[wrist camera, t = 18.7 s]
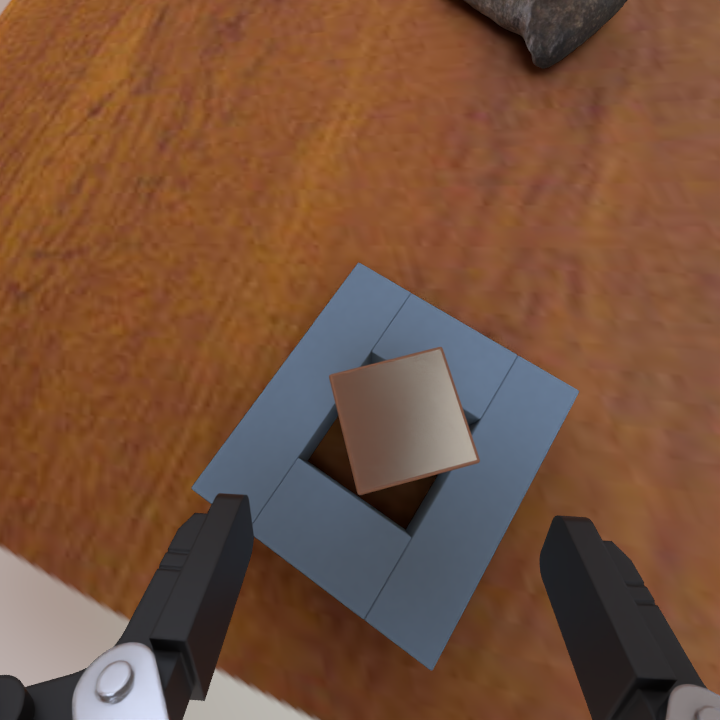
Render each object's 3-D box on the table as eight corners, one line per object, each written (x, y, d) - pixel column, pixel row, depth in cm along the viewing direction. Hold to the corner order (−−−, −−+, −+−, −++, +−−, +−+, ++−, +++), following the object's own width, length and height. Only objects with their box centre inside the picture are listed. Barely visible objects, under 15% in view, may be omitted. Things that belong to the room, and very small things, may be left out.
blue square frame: (422, 642, 18) (432, 672, 16) (214, 487, 21) (190, 488, 18) (551, 403, 21) (580, 390, 19) (359, 288, 24) (358, 261, 21)
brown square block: (362, 490, 20) (357, 495, 12) (344, 418, 21) (328, 374, 13) (433, 471, 21) (481, 462, 12) (412, 400, 22) (442, 345, 13)
